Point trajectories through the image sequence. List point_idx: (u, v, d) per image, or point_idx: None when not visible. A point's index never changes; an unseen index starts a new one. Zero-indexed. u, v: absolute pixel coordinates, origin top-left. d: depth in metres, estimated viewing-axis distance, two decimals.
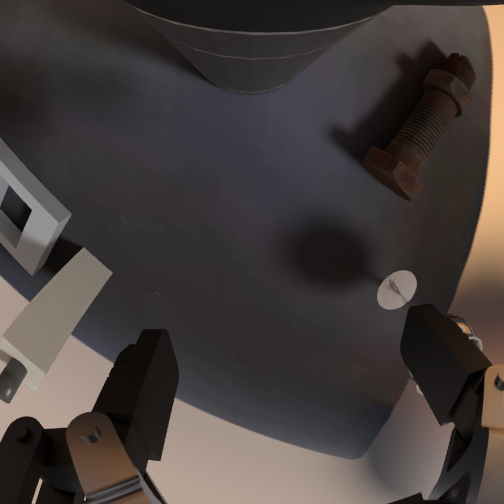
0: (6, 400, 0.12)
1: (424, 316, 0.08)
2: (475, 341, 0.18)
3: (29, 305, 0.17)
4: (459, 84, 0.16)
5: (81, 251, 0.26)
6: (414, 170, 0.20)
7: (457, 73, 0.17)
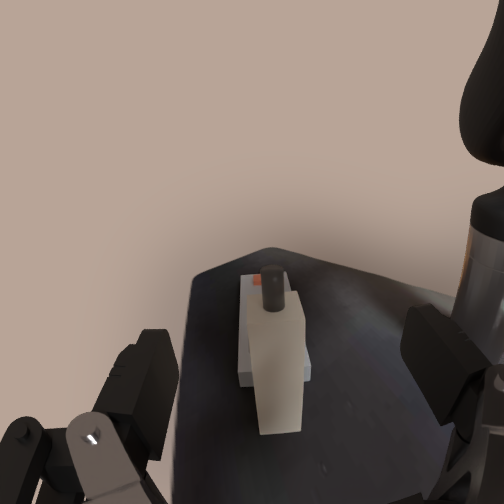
0: (271, 272, 0.20)
1: (424, 316, 0.08)
2: None
3: None
4: None
5: None
6: None
7: None
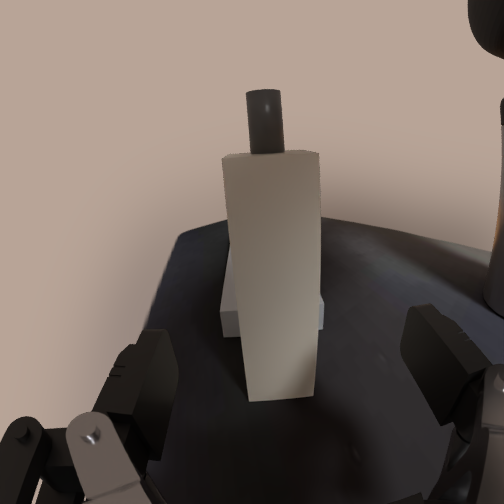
0: (262, 90, 0.12)
1: (424, 316, 0.08)
2: None
3: None
4: None
5: None
6: None
7: None
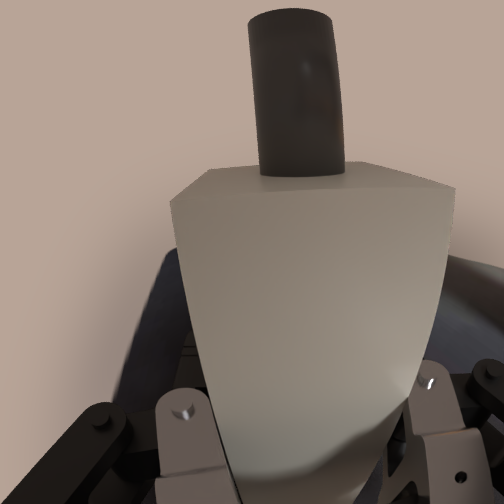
0: (290, 14, 0.04)
1: None
2: None
3: None
4: None
5: None
6: None
7: None
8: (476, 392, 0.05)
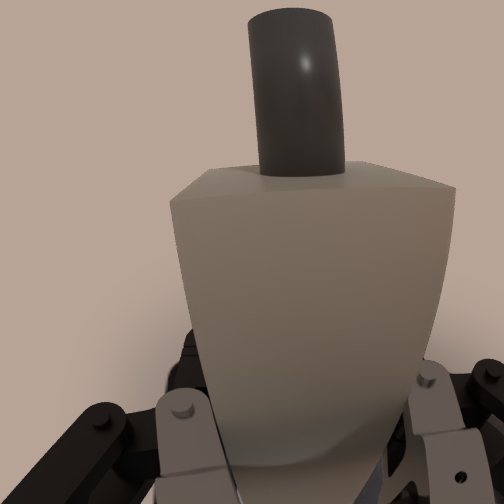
0: (290, 14, 0.04)
1: None
2: None
3: None
4: None
5: None
6: None
7: None
8: (476, 392, 0.05)
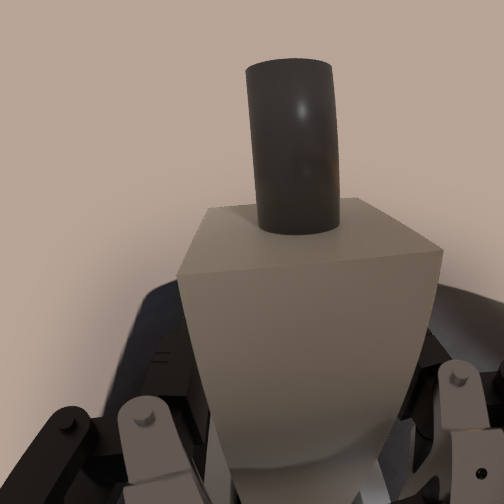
0: (289, 63, 0.04)
1: None
2: None
3: None
4: None
5: None
6: None
7: None
8: (501, 387, 0.05)
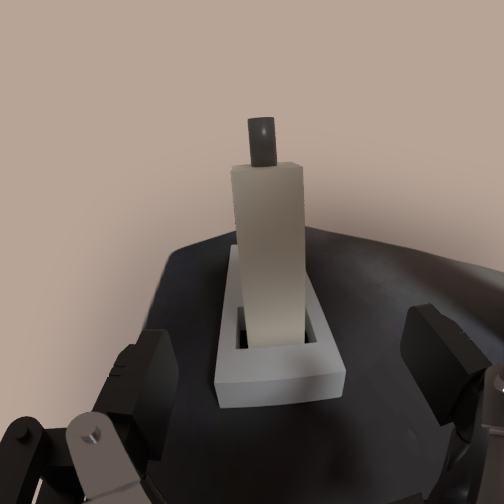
0: None
1: (424, 316, 0.08)
2: None
3: None
4: None
5: None
6: None
7: None
8: None
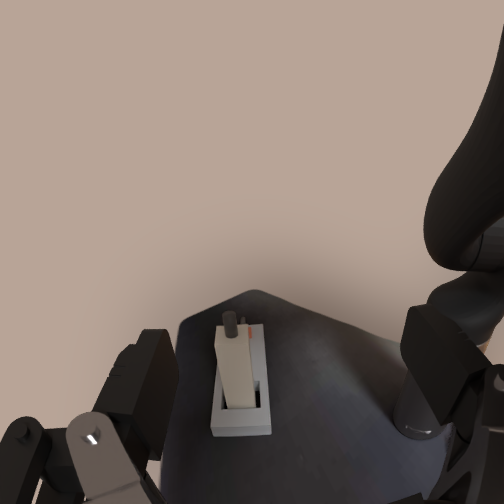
0: (228, 316, 0.34)
1: (424, 316, 0.08)
2: None
3: None
4: None
5: None
6: None
7: None
8: None
